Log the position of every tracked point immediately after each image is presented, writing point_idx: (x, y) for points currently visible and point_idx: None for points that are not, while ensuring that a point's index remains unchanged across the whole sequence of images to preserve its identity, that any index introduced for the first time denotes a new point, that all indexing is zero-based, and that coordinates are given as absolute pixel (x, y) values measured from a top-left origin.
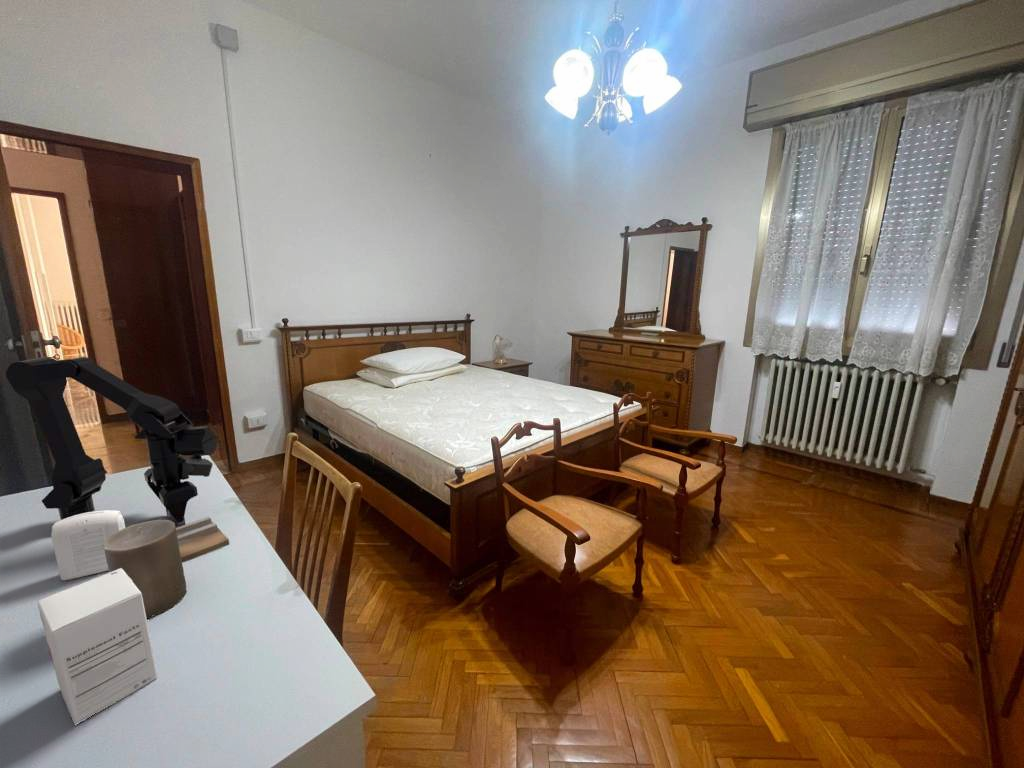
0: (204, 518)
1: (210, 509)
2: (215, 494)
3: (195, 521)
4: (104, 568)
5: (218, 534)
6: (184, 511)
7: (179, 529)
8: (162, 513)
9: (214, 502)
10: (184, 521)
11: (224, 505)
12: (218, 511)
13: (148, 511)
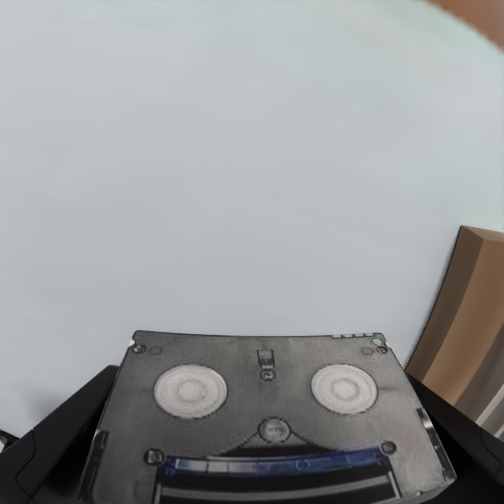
0: (478, 262)
1: (282, 117)
2: (20, 24)
3: (460, 313)
4: None
5: None
6: (462, 417)
7: (499, 400)
8: (84, 359)
9: (153, 43)
10: (394, 356)
11: (304, 10)
12: (382, 98)
13: (30, 375)
